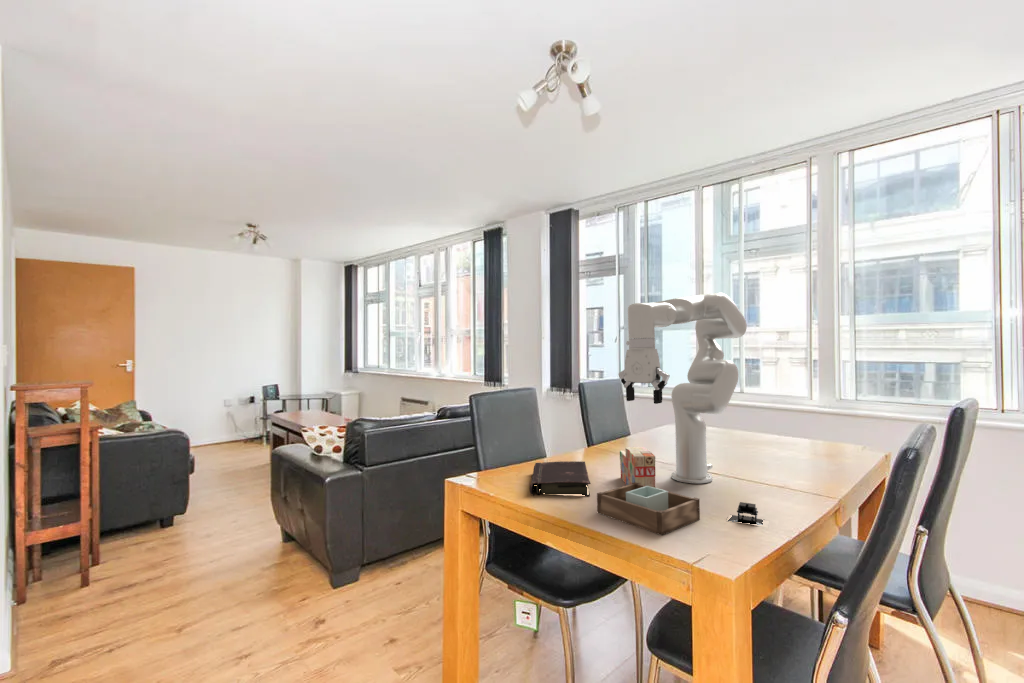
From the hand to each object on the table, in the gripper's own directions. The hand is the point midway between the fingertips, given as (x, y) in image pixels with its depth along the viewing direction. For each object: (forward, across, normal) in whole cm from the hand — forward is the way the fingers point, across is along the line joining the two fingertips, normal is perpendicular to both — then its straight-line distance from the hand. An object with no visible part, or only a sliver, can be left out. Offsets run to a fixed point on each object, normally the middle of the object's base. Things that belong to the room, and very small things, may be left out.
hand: (643, 401), depth 142 cm
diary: (+28, -24, -12) cm, 39 cm away
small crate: (+26, +11, -16) cm, 33 cm away
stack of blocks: (+28, -7, +4) cm, 29 cm away
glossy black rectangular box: (+28, +30, 0) cm, 41 cm away
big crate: (+27, +11, -16) cm, 33 cm away
